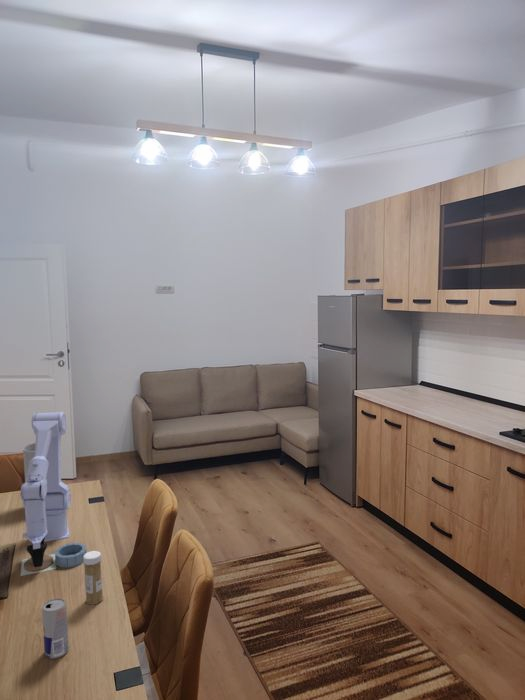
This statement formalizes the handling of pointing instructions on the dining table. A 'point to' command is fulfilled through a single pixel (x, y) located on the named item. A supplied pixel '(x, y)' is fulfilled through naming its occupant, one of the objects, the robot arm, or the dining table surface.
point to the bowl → (70, 555)
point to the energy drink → (55, 628)
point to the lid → (46, 563)
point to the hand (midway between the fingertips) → (38, 560)
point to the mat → (25, 572)
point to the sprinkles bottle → (93, 577)
